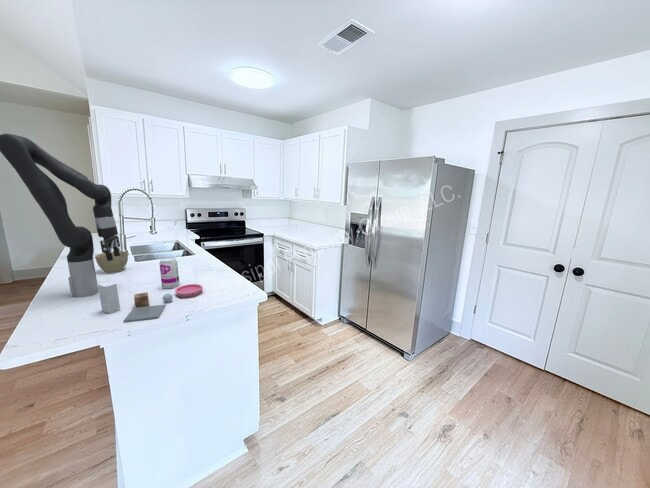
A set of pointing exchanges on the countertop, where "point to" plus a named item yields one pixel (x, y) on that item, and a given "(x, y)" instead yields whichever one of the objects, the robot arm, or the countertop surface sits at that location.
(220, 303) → the countertop surface
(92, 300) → the countertop surface
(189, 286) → the saucer
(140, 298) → the walnut block
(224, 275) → the countertop surface
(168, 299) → the grey ball
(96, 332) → the countertop surface
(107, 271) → the planter bowl
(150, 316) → the slate coaster
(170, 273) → the supplement can
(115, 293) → the skincare box
